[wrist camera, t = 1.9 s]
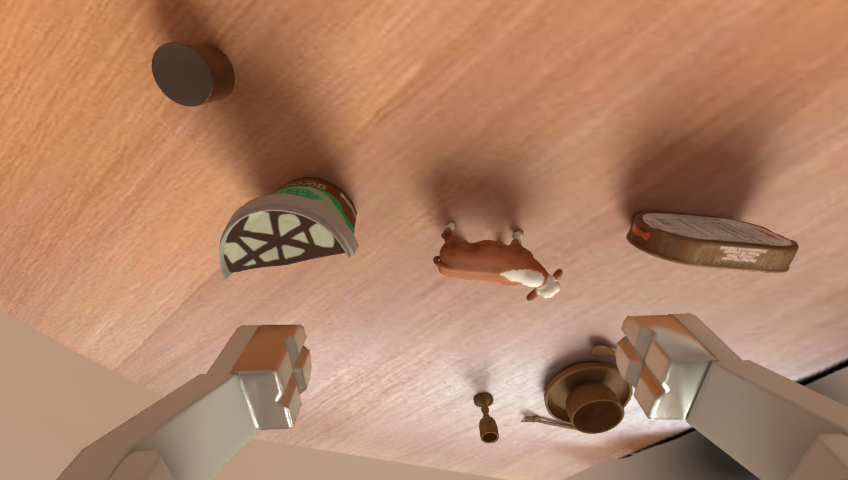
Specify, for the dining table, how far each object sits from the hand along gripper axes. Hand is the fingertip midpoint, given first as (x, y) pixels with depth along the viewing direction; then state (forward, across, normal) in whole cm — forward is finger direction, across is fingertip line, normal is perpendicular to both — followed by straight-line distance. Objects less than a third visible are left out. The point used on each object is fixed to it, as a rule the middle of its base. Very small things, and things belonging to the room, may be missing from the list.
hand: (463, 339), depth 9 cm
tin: (+30, -28, +11) cm, 42 cm away
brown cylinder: (+30, +20, -6) cm, 36 cm away
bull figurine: (+30, -6, +13) cm, 33 cm away
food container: (+30, +14, +6) cm, 34 cm away
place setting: (+30, -17, +36) cm, 50 cm away
